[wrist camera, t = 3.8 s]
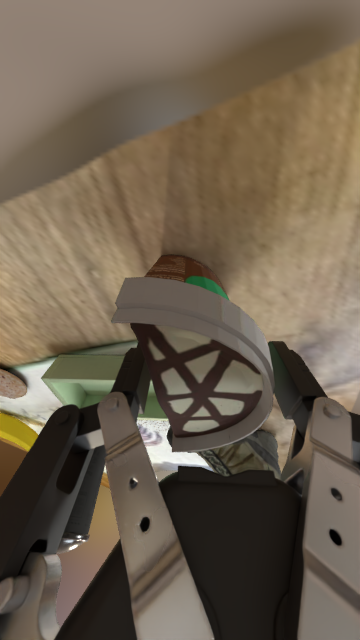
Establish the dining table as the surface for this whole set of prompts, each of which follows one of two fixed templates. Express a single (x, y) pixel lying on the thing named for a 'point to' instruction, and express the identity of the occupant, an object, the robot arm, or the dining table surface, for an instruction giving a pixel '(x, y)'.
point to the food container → (198, 353)
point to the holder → (92, 382)
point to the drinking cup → (84, 504)
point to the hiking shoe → (242, 454)
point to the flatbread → (11, 385)
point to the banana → (17, 431)
